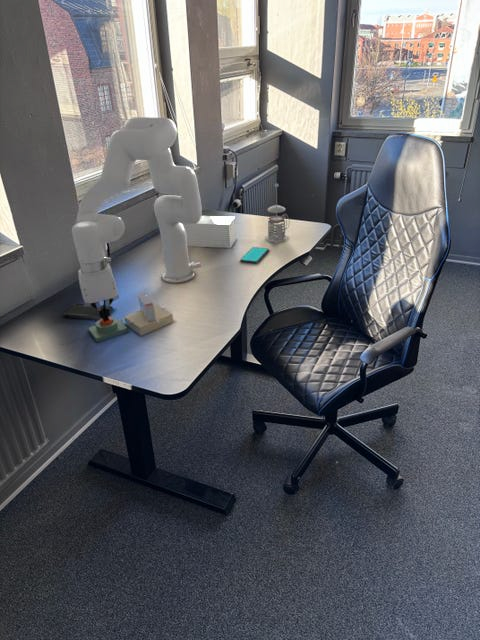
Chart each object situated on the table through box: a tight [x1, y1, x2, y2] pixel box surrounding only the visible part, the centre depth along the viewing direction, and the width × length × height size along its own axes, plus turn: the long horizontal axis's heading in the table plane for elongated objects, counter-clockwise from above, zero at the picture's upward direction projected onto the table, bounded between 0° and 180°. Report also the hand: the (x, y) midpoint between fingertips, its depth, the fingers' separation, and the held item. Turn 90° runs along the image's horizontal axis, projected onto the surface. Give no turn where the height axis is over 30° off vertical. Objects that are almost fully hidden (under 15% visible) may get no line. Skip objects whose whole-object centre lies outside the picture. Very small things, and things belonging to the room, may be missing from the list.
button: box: [100, 316, 113, 326], centre depth 145 cm, size 4×4×2 cm
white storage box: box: [182, 215, 237, 249], centre depth 210 cm, size 32×11×11 cm, turn 76°
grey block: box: [137, 293, 156, 322], centre depth 147 cm, size 9×3×6 cm, turn 26°
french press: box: [265, 183, 290, 244], centre depth 206 cm, size 10×12×25 cm
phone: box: [63, 303, 114, 321], centre depth 157 cm, size 8×1×15 cm
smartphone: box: [240, 246, 270, 264], centre depth 195 cm, size 7×1×15 cm
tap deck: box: [123, 303, 174, 337], centre depth 149 cm, size 13×13×3 cm
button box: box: [87, 316, 128, 343], centre depth 146 cm, size 10×8×4 cm
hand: (105, 318), depth 144 cm, fingers closed
